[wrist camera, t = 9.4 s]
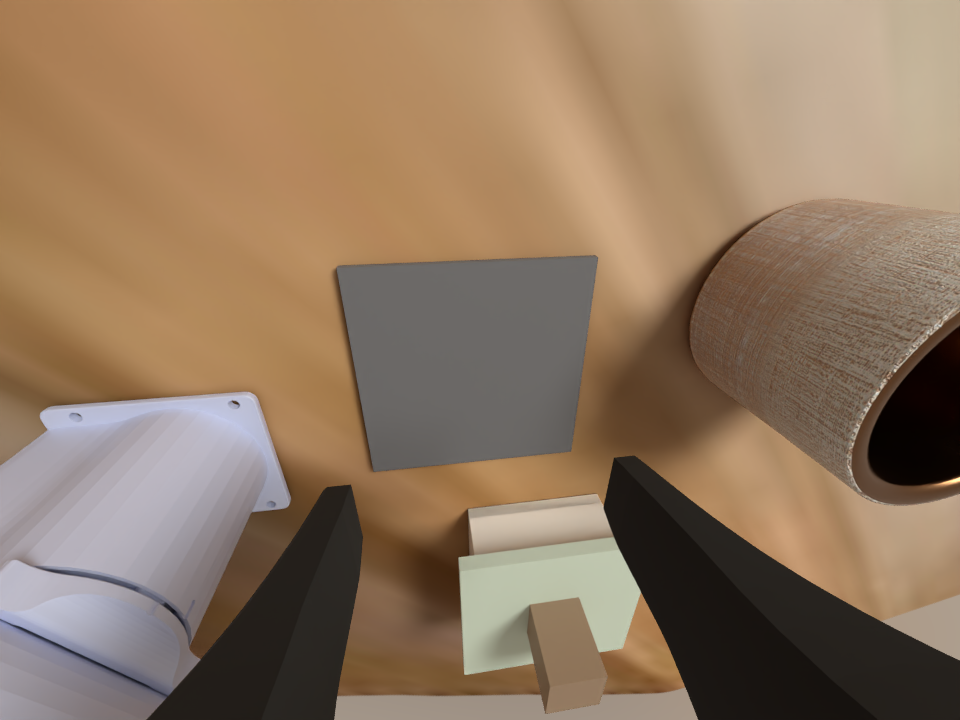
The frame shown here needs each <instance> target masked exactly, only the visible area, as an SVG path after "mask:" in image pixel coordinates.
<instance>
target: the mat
mask: <svg viewBox="0 0 960 720" xmlns="http://www.w3.org/2000/svg"><path fill="white" fill-rule="evenodd" d="M597 261H598V257H597V256H595V255H593V256H568V257H543V258H518V259H493V260H468V261H443V262H418V263H393V264H368V265H343V266H338V267H337V274H338V279H339V285H340V290H341V296H342V301H343V307H344V312H345V318H346V323H347V328H348V334H349V339H350V345H351V350H352V356H353V361H354V367H355V372H356V378H357V383H358V389H359V394H360V400H361V405H362V411H363V416H364V421H365V427H366V432H367V438H368V443H369V449H370V454H371V460H372V465H373V471H374V472H377V471H387V470H396V469H406V468H416V467H426V466H435V465H445V464H455V463H464V462H474V461H484V460H493V459H503V458H513V457H523V456H532V455H542V454H552V453H561V452H571V449H572V441H573V434H574V427H575V420H576V413H577V405H578V398H579V391H580V384H581V377H582V369H583V362H584V355H585V348H586V341H587V333H588V326H589V319H590V312H591V305H592V297H593V290H594V283H595V276H596V269H597Z"/></svg>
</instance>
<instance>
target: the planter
mask: <svg viewBox="0 0 960 720" xmlns="http://www.w3.org/2000/svg"><path fill="white" fill-rule="evenodd" d="M689 342H690V348H691V352H692V355H693V358H694V361H695V363H696V365H697V366H698V368H699V369H700V370H701V371H702V373H703V374H704V375H705V376H706V377H707V378H708V379H709V380H710V381H711V382H712V383H713V384H715V385H716V386H717V387H718V388H720V389H721V390H722V391H724V392H725V393H726V394H728V395H729V396H730V397H732V398H733V399H734V400H736V401H737V402H738V403H740V404H741V405H742V406H743V407H745V408H746V409H747V410H749V411H750V412H752V413H753V414H754V415H756V416H757V417H758V418H760V419H761V420H762V421H764V422H765V423H766V424H768V425H769V426H770V427H772V428H773V429H774V430H776V431H777V432H778V433H780V434H781V435H782V436H784V437H785V438H786V439H787V440H789V441H790V442H791V443H793V444H794V445H795V446H797V447H798V448H799V449H801V450H802V451H803V452H805V453H806V454H807V455H809V456H810V457H811V458H812V459H814V460H815V461H816V462H818V463H819V464H820V465H822V466H823V467H824V468H825V469H827V470H828V471H829V472H831V473H832V474H833V475H835V476H836V477H837V478H838V479H840V480H841V481H842V482H844V483H845V484H846V485H847V486H849V487H850V488H851V489H853V490H854V491H855V492H857V493H858V494H859V495H861V496H862V497H864V498H866V499H868V500H870V501H872V502H875V503H879V504H884V505H893V506H906V505H917V504H923V503H929V502H933V501H938V500H941V499H945V498H948V497H952V496H955V495H958V494H960V214H958V213H950V212H943V211H935V210H928V209H920V208H913V207H905V206H898V205H890V204H882V203H874V202H866V201H858V200H850V199H820V200H812V201H807V202H803V203H799V204H796V205H793V206H790V207H788V208H785V209H783V210H781V211H779V212H777V213H775V214H773V215H771V216H769V217H768V218H766V219H764V220H763V221H761V222H760V223H758V224H757V225H755V226H754V227H753V228H751V229H750V230H749V231H747V232H746V233H745V234H744V235H743V236H742V237H740V238H739V239H738V240H737V241H736V242H735V243H734V244H733V245H732V246H731V247H730V248H729V249H728V250H727V251H726V252H725V254H724V255H723V256H722V257H721V258H720V260H719V261H718V262H717V264H716V265H715V266H714V268H713V269H712V271H711V272H710V274H709V275H708V277H707V279H706V280H705V282H704V284H703V286H702V288H701V290H700V292H699V294H698V297H697V299H696V302H695V305H694V308H693V311H692V315H691V320H690V329H689Z"/></svg>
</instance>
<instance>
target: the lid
mask: <svg viewBox="0 0 960 720" xmlns="http://www.w3.org/2000/svg"><path fill="white" fill-rule="evenodd" d="M458 559H459V581H460V602H461V623H462V645H463V664H464V675H467V674H473V673H479V672H485V671H491V670H497V669H503V668H509V667H515V666H521V665H527V664H533V663H534V665H535V670H536V674H537V679H538V683H539V688H540V692H541V696H542V701H543V705H544V710H545V713H546V714H548V713H554V712H559V711H564V710H570V709H575V708H580V707H586V706H591V705H596V704H599V703H600V700H601V697H602V693H603V690H604V687H605V684H606V681H607V677H608V676H607V673H606V671H605V668H604V665H603V662H602V660H601V657H600V654H599V652H604V651H610V650H616V649H622V648H623V645H624V642H625V639H626V636H627V633H628V630H629V627H630V623H631V620H632V617H633V614H634V611H635V608H636V605H637V602H638V599H639V596H640V593H641V591H640V589H639V587H638V585H637V583H636V581H635V579H634V577H633V576H632V574H631V572H630V570H629V568H628V566H627V564H626V562H625V560H624V558H623V556H622V554H621V552H620V550H619V548H618V546H617V544H616V541H615V539H614V537H610V538H602V539H595V540H587V541H579V542H572V543H564V544H557V545H549V546H541V547H534V548H526V549H519V550H511V551H503V552H496V553H488V554H480V555H473V556H465V557H458Z"/></svg>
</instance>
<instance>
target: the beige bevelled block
mask: <svg viewBox="0 0 960 720" xmlns="http://www.w3.org/2000/svg"><path fill="white" fill-rule="evenodd" d="M603 508H604V507H603V505H602V503H601V501H600V499H599V497H598V495H597V494H591V495H582V496H574V497H565V498H557V499H548V500H540V501H531V502H523V503H514V504H506V505H497V506H489V507H480V508H472V509H468V528H469V556H473V555H480V554H488V553H496V552H503V551H511V550H519V549H526V548H534V547H541V546H549V545H557V544H564V543H572V542H579V541H587V540H595V539H602V538H610V537H614V536H613V534H612V531H611V528H610V526H609V523H608V520H607V517H606V515H605V512H604V509H603Z"/></svg>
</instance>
